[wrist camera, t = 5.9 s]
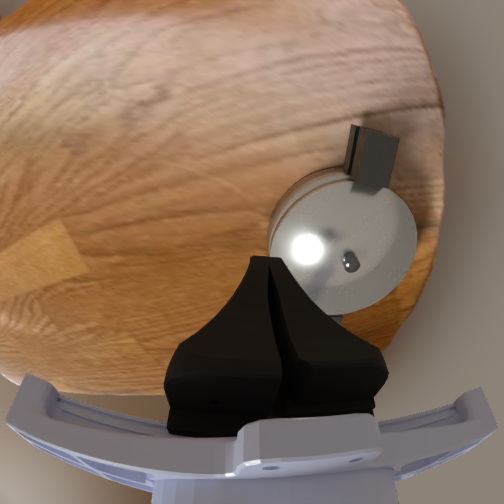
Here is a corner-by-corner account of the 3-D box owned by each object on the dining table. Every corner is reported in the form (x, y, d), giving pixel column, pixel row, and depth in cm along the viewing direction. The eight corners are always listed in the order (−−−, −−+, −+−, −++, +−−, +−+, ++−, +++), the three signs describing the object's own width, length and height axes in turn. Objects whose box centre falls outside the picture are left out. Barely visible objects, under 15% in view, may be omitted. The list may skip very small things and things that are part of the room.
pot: (371, 303, 27) (380, 324, 25) (258, 298, 27) (259, 322, 24) (423, 142, 19) (444, 152, 16) (282, 111, 18) (287, 114, 15)
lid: (384, 309, 24) (390, 322, 23) (260, 305, 24) (261, 320, 22) (442, 151, 16) (456, 158, 15) (287, 114, 15) (290, 117, 14)
